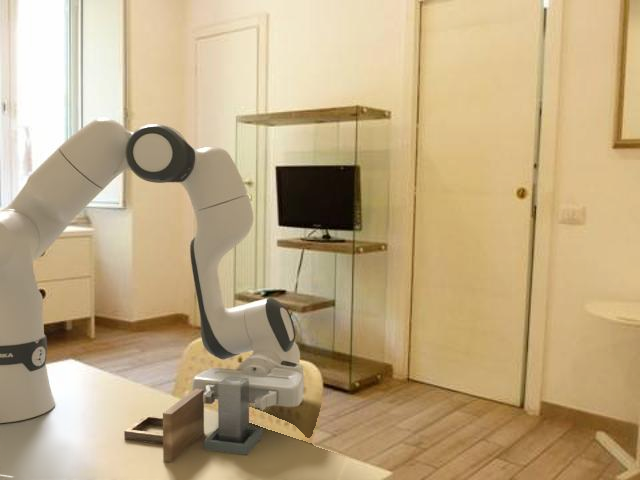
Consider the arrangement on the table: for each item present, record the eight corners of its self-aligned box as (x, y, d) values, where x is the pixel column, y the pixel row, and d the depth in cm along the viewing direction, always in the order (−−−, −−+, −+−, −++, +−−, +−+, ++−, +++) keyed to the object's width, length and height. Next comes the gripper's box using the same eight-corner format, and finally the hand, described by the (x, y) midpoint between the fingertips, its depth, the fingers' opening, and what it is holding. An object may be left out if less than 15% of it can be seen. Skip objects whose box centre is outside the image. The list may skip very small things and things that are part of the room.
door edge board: (163, 461, 99) (162, 413, 98) (196, 431, 110) (195, 388, 109) (171, 462, 98) (171, 414, 98) (204, 432, 110) (203, 389, 109)
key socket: (124, 439, 107) (124, 431, 107) (147, 422, 114) (147, 414, 114) (164, 444, 105) (164, 435, 105) (184, 427, 112) (184, 419, 112)
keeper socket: (204, 449, 103) (204, 441, 103) (222, 431, 110) (222, 423, 110) (246, 455, 101) (246, 446, 101) (262, 436, 109) (262, 428, 108)
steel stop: (218, 446, 104) (218, 383, 103) (227, 437, 108) (227, 376, 107) (240, 449, 103) (240, 385, 102) (248, 439, 107) (249, 378, 106)
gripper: (209, 356, 120) (176, 378, 107) (310, 365, 115) (289, 390, 102) (209, 388, 121) (176, 413, 107) (310, 398, 116) (288, 426, 102)
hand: (232, 402), depth 104 cm, fingers open, 8 cm apart
